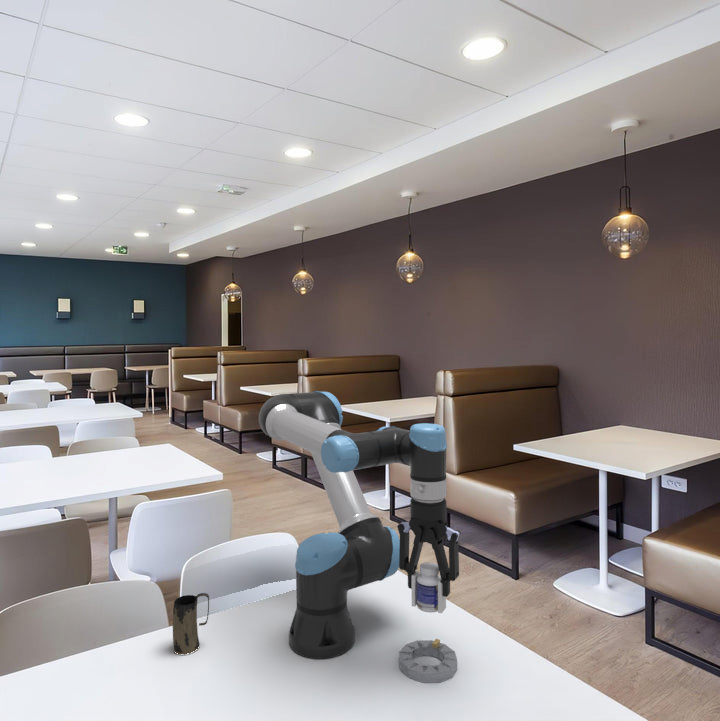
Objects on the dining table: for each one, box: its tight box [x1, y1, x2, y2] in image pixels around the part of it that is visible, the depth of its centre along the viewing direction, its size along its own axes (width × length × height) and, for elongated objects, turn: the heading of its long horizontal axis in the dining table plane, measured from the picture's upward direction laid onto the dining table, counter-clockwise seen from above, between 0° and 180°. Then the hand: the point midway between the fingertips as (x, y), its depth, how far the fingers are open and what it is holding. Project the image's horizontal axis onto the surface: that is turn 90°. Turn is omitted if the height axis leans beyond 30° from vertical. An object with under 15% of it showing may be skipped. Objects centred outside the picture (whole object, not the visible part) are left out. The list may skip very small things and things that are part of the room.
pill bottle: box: [416, 561, 441, 614], centre depth 116 cm, size 5×5×9 cm
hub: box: [398, 638, 458, 684], centre depth 117 cm, size 12×12×3 cm
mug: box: [172, 592, 210, 654], centre depth 123 cm, size 8×6×12 cm
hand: (428, 606), depth 116 cm, fingers closed on pill bottle, 5 cm apart
